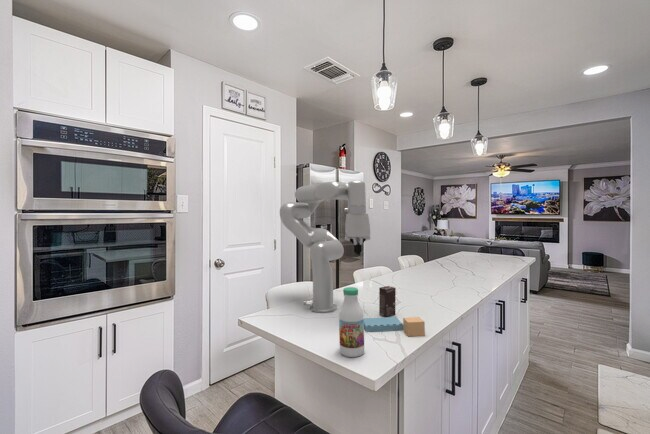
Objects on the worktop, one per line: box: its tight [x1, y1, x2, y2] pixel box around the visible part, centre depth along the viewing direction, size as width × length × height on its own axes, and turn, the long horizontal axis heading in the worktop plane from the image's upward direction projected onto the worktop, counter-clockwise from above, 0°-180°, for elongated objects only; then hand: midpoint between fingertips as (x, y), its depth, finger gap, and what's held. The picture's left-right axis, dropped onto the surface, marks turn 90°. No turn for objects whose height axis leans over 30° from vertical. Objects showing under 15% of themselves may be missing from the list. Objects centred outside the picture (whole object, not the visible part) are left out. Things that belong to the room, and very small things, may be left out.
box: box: [378, 285, 397, 318], centre depth 126 cm, size 6×4×12 cm
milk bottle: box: [338, 286, 365, 358], centre depth 92 cm, size 8×8×20 cm
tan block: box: [402, 316, 426, 338], centre depth 106 cm, size 6×5×5 cm
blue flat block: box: [363, 316, 403, 333], centre depth 113 cm, size 14×9×2 cm, turn 94°
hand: (357, 254), depth 123 cm, fingers closed
